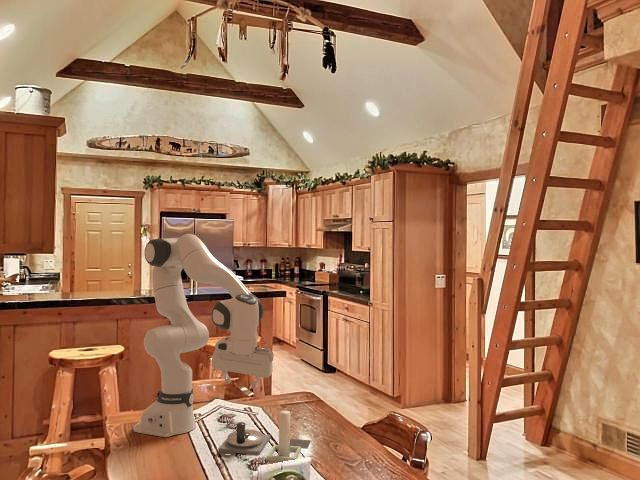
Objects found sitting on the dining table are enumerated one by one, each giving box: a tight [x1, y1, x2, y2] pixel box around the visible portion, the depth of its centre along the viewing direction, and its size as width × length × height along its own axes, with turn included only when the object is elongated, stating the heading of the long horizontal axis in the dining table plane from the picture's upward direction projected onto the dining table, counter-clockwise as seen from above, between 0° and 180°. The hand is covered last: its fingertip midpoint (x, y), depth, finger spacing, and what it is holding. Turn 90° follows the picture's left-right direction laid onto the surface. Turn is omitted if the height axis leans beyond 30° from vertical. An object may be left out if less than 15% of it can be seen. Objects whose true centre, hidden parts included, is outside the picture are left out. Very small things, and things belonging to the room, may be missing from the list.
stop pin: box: [278, 410, 291, 457], centre depth 160 cm, size 4×4×14 cm
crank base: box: [217, 434, 271, 456], centre depth 168 cm, size 14×14×2 cm
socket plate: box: [290, 438, 312, 449], centre depth 170 cm, size 7×7×1 cm
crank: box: [226, 421, 264, 448], centre depth 168 cm, size 12×12×8 cm
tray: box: [266, 444, 302, 462], centre depth 160 cm, size 9×9×2 cm
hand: (241, 385), depth 163 cm, fingers open, 8 cm apart
